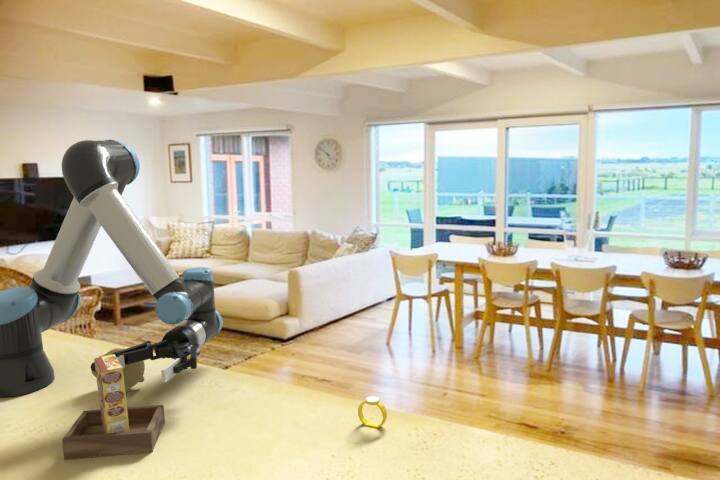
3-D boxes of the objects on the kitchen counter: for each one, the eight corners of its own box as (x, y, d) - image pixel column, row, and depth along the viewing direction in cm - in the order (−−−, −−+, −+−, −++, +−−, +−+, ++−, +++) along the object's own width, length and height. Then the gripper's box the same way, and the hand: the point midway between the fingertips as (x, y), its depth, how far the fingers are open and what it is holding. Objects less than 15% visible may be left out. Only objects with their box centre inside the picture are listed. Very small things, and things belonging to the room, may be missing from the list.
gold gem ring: (387, 426, 119) (389, 399, 118) (382, 432, 117) (383, 405, 116) (361, 419, 122) (362, 392, 121) (355, 425, 119) (356, 398, 118)
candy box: (131, 441, 113) (124, 366, 111) (108, 447, 111) (100, 371, 108) (122, 423, 121) (115, 353, 118) (100, 429, 118) (93, 357, 116)
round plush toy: (115, 379, 146) (111, 338, 144) (154, 384, 142) (151, 343, 140) (85, 395, 137) (80, 352, 135) (126, 401, 133) (122, 357, 131)
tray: (85, 428, 121) (83, 410, 120) (164, 422, 123) (163, 404, 122) (64, 459, 109) (61, 439, 108) (152, 451, 111) (150, 432, 110)
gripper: (232, 357, 140) (190, 394, 120) (138, 352, 145) (83, 387, 125) (230, 327, 139) (187, 360, 119) (136, 323, 144) (79, 354, 124)
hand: (133, 374), depth 122 cm, fingers open, 13 cm apart
